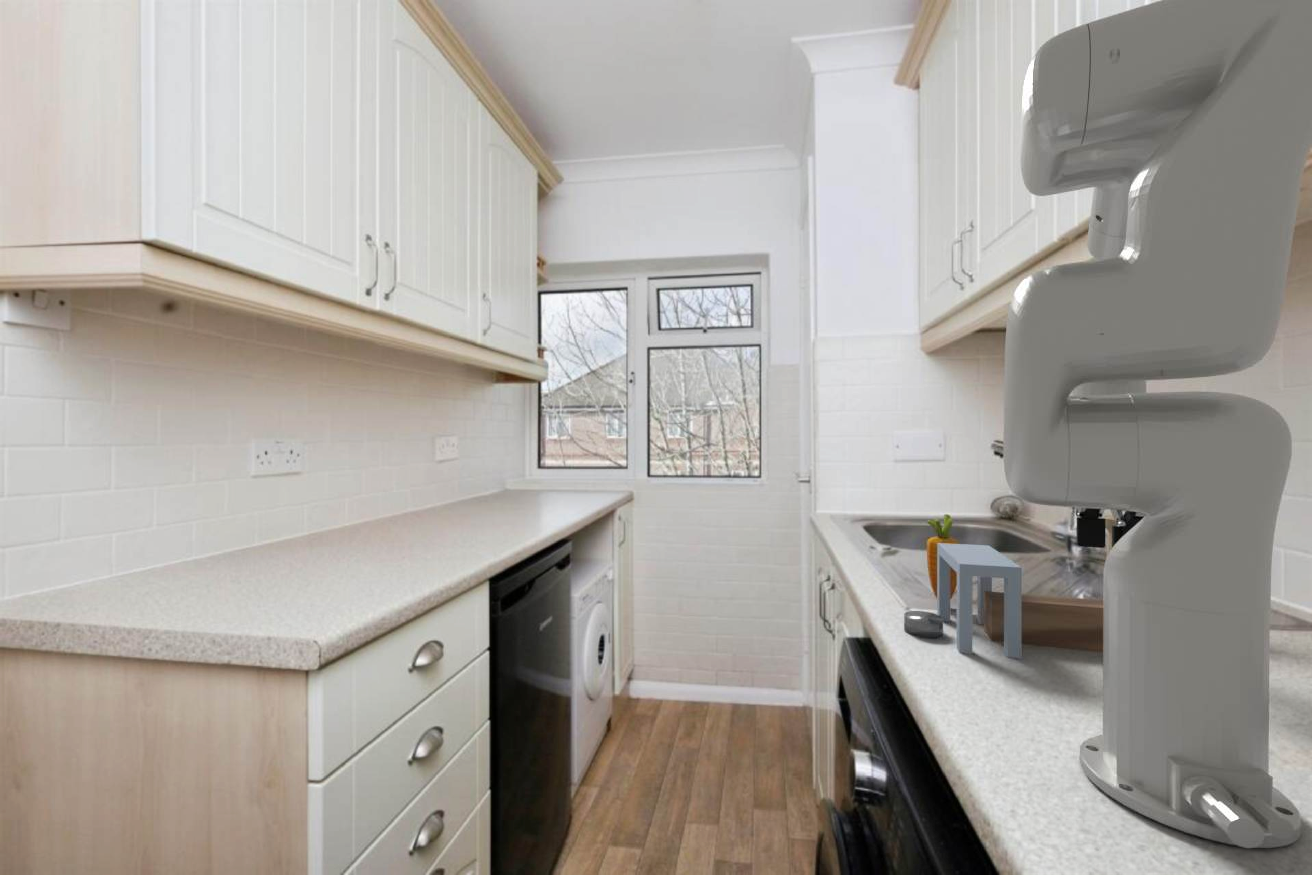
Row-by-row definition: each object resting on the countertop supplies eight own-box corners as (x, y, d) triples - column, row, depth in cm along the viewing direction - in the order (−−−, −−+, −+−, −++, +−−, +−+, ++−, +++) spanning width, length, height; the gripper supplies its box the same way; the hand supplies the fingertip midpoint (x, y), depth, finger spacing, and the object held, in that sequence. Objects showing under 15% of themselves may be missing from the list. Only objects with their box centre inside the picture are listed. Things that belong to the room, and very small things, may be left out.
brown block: (1153, 659, 70) (1154, 611, 70) (991, 642, 76) (991, 598, 76) (1137, 647, 74) (1137, 602, 74) (984, 632, 79) (984, 590, 79)
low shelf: (1021, 658, 70) (1021, 567, 70) (959, 652, 72) (959, 563, 72) (988, 621, 83) (988, 545, 83) (937, 617, 85) (937, 542, 85)
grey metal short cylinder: (945, 641, 76) (945, 624, 76) (905, 637, 78) (905, 620, 78) (940, 629, 81) (940, 612, 81) (902, 625, 82) (902, 609, 82)
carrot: (939, 612, 88) (939, 517, 87) (919, 603, 92) (919, 513, 92) (967, 610, 88) (968, 516, 88) (946, 601, 93) (946, 512, 93)
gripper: (1185, 417, 63) (1186, 568, 63) (1109, 425, 80) (1109, 544, 79) (1107, 417, 65) (1107, 563, 65) (1048, 424, 82) (1048, 541, 82)
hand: (1108, 552), depth 72 cm, fingers open, 9 cm apart
